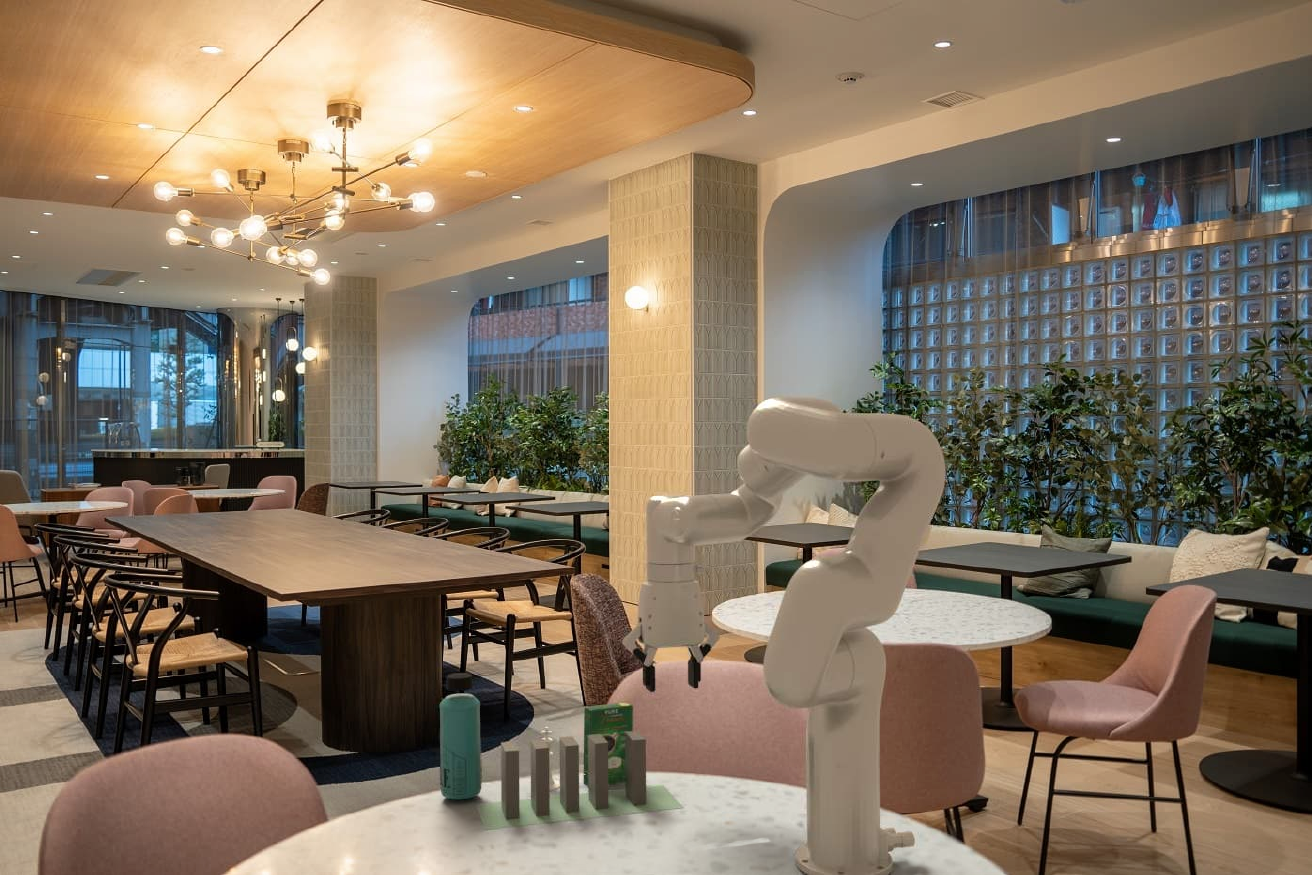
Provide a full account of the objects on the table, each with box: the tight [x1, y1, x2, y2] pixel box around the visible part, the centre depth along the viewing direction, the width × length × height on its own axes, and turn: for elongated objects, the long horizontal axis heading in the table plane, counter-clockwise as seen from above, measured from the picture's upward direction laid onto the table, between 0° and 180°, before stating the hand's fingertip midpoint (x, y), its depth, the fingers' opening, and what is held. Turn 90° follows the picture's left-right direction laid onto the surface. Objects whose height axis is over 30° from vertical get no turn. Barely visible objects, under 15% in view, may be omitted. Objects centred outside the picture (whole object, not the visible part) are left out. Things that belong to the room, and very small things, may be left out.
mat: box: [475, 784, 684, 831], centre depth 158 cm, size 30×11×1 cm, turn 106°
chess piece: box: [540, 726, 560, 791], centre depth 168 cm, size 5×5×10 cm
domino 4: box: [587, 734, 609, 810], centre depth 159 cm, size 2×5×10 cm, turn 16°
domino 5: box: [625, 730, 647, 806], centre depth 161 cm, size 2×5×10 cm, turn 16°
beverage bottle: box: [438, 672, 483, 800], centre depth 162 cm, size 6×7×20 cm
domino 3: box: [558, 735, 580, 813], centre depth 158 cm, size 2×5×10 cm, turn 16°
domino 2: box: [530, 738, 551, 817], centre depth 156 cm, size 2×5×10 cm, turn 16°
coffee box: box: [583, 701, 634, 787], centre depth 170 cm, size 8×3×13 cm, turn 119°
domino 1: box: [500, 740, 520, 820], centre depth 155 cm, size 2×5×10 cm, turn 16°
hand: (671, 687), depth 162 cm, fingers open, 6 cm apart
